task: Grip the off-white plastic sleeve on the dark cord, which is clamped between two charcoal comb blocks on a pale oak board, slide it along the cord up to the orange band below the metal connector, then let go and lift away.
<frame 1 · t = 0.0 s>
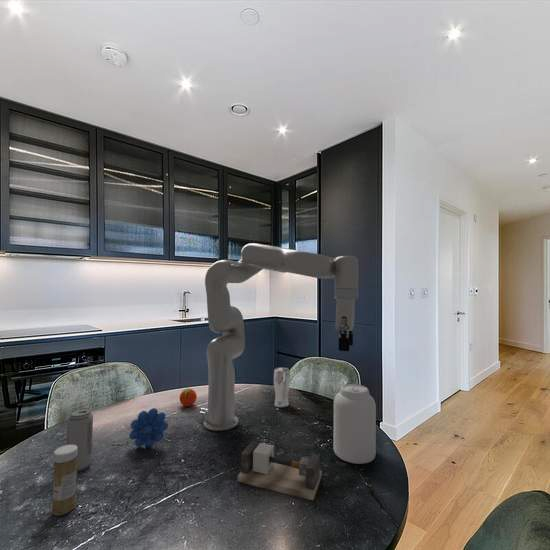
hand: (346, 347, 100), 31 cm above the table, tool pointing down, fingers open, 9 cm apart
clementine: (187, 406, 130), on the table
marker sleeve: (263, 457, 84), point 5 cm above the table, slide at 0.0 cm
energy drink can: (79, 467, 87), on the table
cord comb: (280, 478, 82), on the table
sprinkles bottle: (63, 510, 70), on the table
can: (354, 454, 95), on the table
beer glass: (281, 405, 133), on the table
grapes: (149, 446, 98), on the table
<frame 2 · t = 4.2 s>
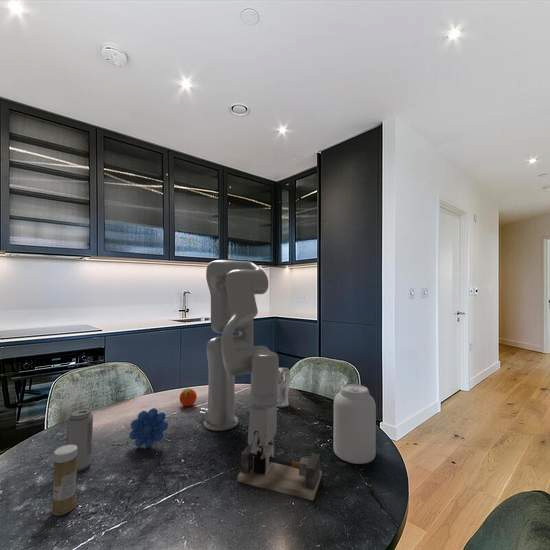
hand: (263, 465, 84), 2 cm above the table, tool pointing down, fingers closed on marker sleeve, 5 cm apart
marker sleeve: (263, 457, 84), point 5 cm above the table, slide at 0.0 cm, touching gripper
everything else where it was.
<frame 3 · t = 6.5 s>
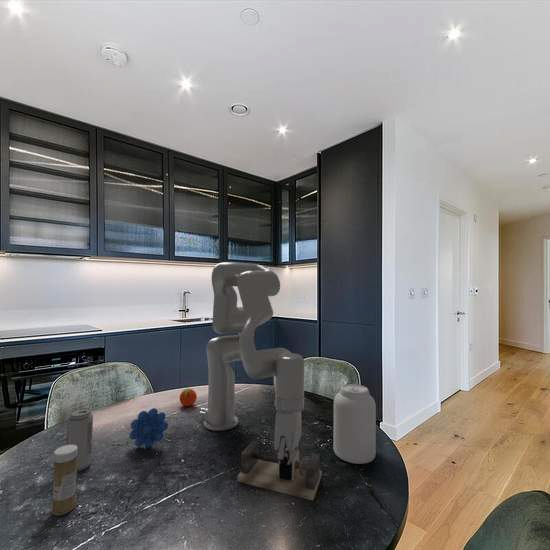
hand: (288, 471, 81), 2 cm above the table, tool pointing down, fingers closed on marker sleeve, 5 cm apart
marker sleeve: (289, 463, 82), point 5 cm above the table, slide at 7.2 cm, touching gripper
everything else where it was.
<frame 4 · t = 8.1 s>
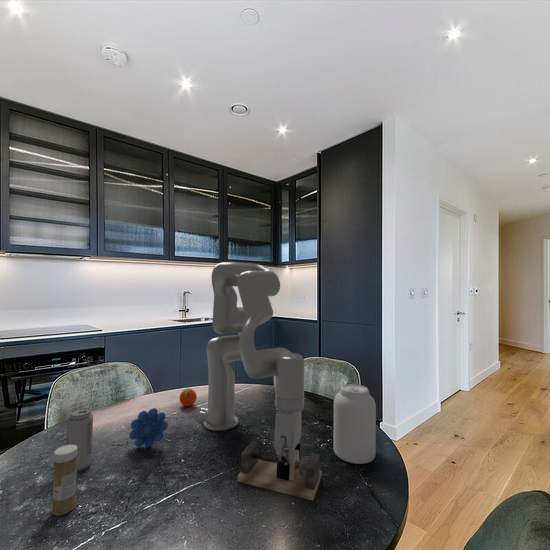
hand: (289, 467, 82), 3 cm above the table, tool pointing down, fingers open, 9 cm apart
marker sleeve: (289, 463, 82), point 5 cm above the table, slide at 7.2 cm
everything else where it was.
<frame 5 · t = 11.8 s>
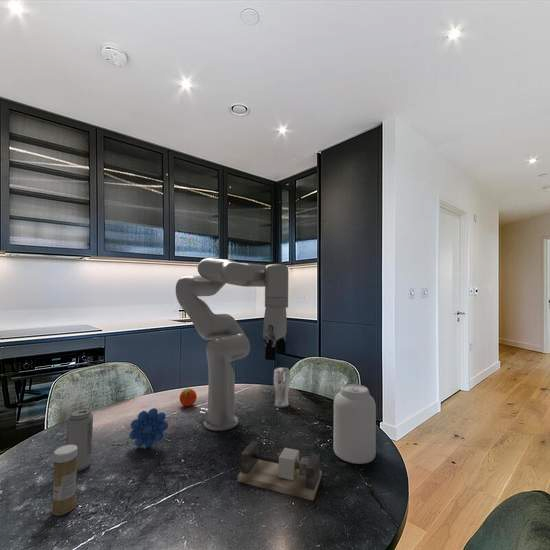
hand: (275, 356, 100), 28 cm above the table, tool pointing down, fingers open, 9 cm apart
nothing on the table moved.
at the end: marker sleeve slide at 7.2 cm; the gripper is holding nothing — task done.
